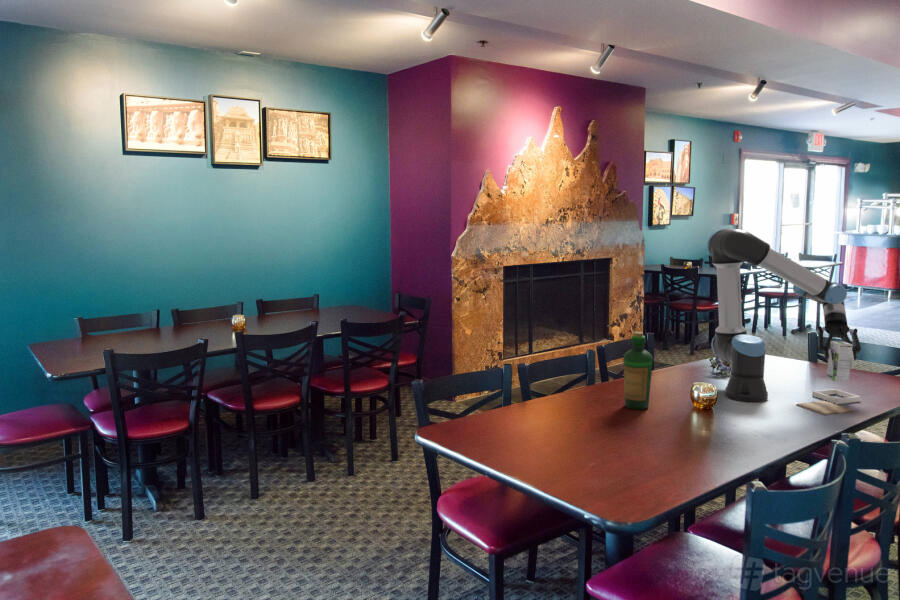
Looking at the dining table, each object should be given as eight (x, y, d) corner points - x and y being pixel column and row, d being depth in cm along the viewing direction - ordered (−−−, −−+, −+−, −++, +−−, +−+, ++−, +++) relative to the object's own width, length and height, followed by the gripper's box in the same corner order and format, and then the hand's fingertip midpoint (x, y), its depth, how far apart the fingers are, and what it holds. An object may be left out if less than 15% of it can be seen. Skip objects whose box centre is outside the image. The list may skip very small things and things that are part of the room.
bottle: (615, 405, 239) (617, 331, 235) (637, 401, 244) (639, 329, 240) (636, 412, 230) (638, 336, 226) (657, 408, 234) (660, 333, 231)
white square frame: (836, 404, 237) (837, 399, 237) (812, 396, 247) (812, 391, 247) (860, 401, 240) (860, 396, 240) (834, 393, 250) (835, 388, 250)
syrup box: (825, 377, 246) (829, 340, 244) (842, 378, 245) (845, 340, 243) (833, 381, 240) (836, 343, 238) (849, 381, 240) (853, 343, 238)
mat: (823, 415, 225) (823, 413, 225) (796, 405, 236) (796, 403, 236) (852, 411, 228) (852, 409, 228) (824, 402, 240) (824, 400, 240)
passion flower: (726, 387, 280) (722, 369, 274) (704, 378, 289) (700, 360, 282) (741, 371, 284) (737, 352, 277) (719, 362, 292) (715, 344, 286)
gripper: (860, 324, 251) (868, 374, 238) (805, 320, 258) (810, 369, 244) (866, 312, 246) (874, 363, 233) (809, 309, 252) (814, 358, 239)
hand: (841, 366), depth 239 cm, fingers closed on syrup box, 6 cm apart
